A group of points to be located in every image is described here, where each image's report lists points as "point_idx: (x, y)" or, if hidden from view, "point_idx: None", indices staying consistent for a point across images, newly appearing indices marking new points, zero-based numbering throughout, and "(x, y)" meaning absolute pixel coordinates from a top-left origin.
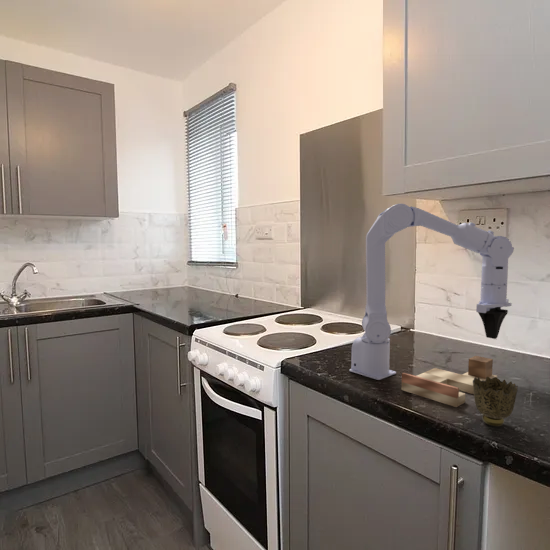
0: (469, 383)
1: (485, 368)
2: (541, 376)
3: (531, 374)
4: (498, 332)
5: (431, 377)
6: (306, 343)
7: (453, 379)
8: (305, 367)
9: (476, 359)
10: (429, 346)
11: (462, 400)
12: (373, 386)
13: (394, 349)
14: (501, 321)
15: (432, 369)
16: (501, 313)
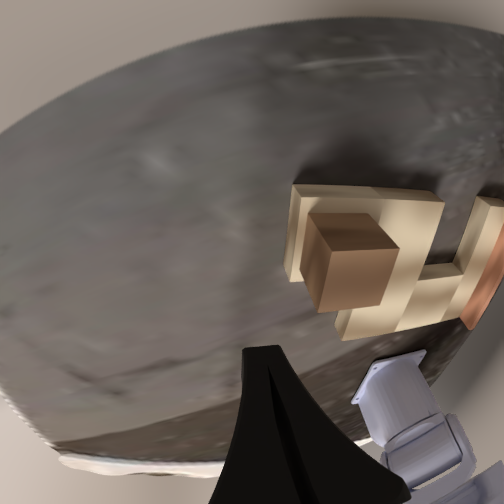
0: (430, 228)
1: (387, 234)
2: (52, 114)
3: (59, 148)
4: (252, 375)
5: (422, 304)
6: None
7: (417, 269)
8: None
9: (375, 287)
10: (101, 414)
11: (490, 200)
12: (451, 334)
13: (197, 433)
14: (261, 452)
15: (359, 336)
16: (398, 501)
